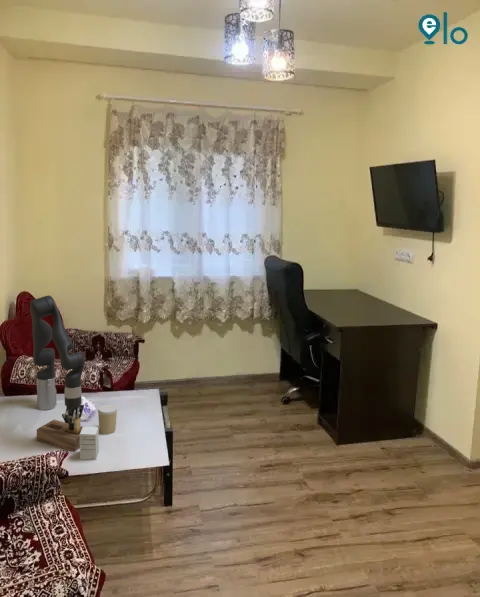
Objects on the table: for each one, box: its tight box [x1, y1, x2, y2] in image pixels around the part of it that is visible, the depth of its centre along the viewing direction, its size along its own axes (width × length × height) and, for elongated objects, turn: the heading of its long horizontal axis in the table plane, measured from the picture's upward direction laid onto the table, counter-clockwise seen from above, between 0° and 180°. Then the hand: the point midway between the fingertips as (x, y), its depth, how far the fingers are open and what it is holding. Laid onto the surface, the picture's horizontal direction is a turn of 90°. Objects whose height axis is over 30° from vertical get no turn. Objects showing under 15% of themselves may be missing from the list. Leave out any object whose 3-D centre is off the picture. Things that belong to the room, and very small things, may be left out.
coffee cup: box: [97, 404, 118, 435], centre depth 261 cm, size 9×9×12 cm
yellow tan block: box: [66, 417, 81, 435], centre depth 246 cm, size 2×6×10 cm, turn 69°
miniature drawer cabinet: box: [79, 426, 100, 461], centre depth 237 cm, size 7×7×13 cm
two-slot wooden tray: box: [36, 419, 84, 452], centre depth 249 cm, size 12×22×6 cm, turn 69°
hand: (73, 428), depth 247 cm, fingers closed on yellow tan block, 2 cm apart
